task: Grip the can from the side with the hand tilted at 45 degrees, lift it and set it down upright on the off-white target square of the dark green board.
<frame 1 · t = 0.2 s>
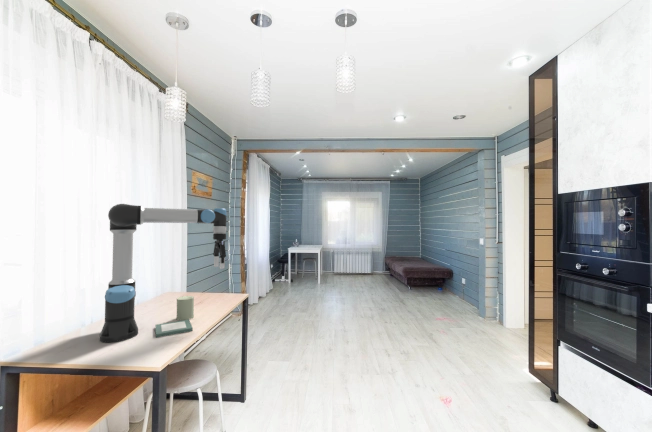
hand: (219, 267, 176), 28 cm above the table, tool pointing down, fingers open, 13 cm apart
board: (173, 329, 148), on the table
can: (185, 318, 167), on the table
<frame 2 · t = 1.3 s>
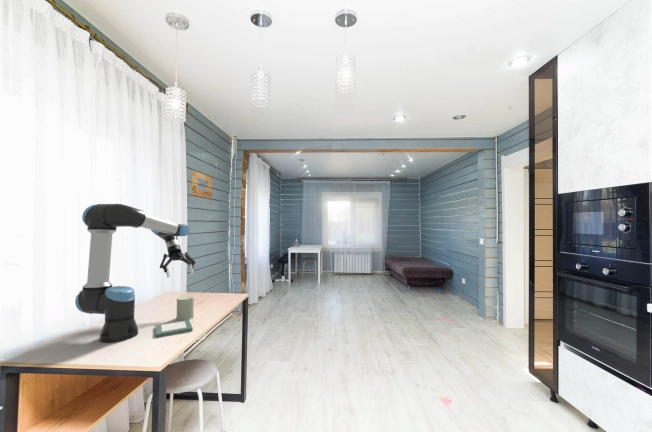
hand: (180, 274, 175), 24 cm above the table, tool tilted 45°, fingers open, 13 cm apart
nothing on the table moved.
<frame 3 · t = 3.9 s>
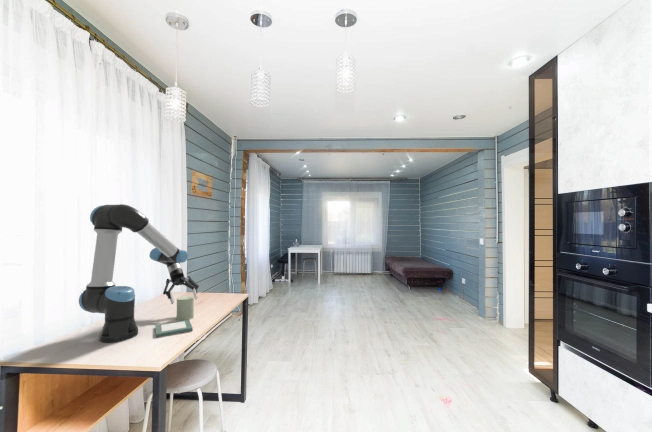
hand: (185, 300, 171), 9 cm above the table, tool tilted 45°, fingers open, 13 cm apart
nothing on the table moved.
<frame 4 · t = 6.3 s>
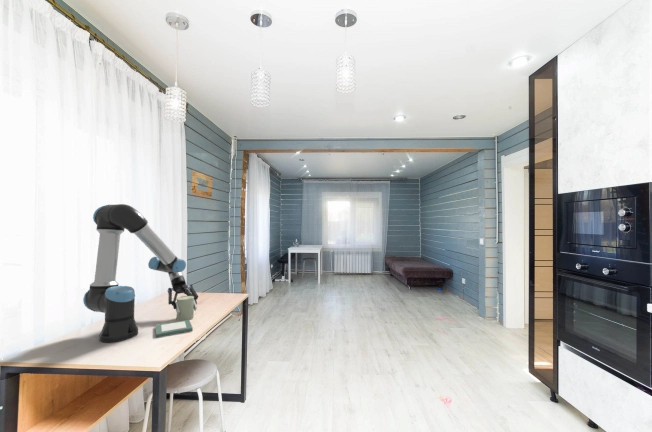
hand: (187, 311, 165), 4 cm above the table, tool tilted 45°, fingers closed on can, 9 cm apart
can: (185, 318, 167), on the table, touching gripper
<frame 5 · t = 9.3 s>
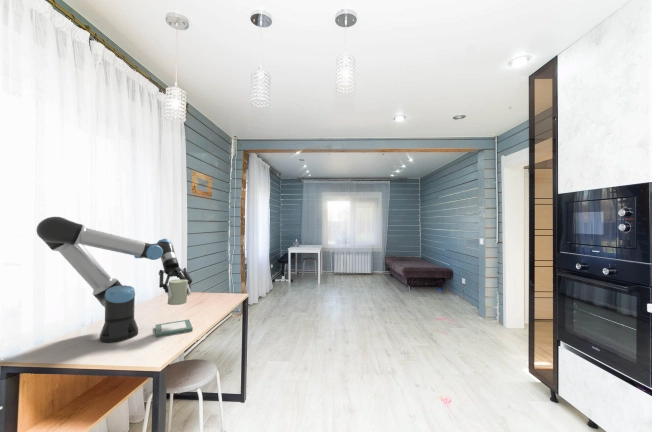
hand: (180, 295, 150), 17 cm above the table, tool tilted 45°, fingers closed on can, 9 cm apart
can: (177, 303, 152), point 12 cm above the table, touching gripper
when the fingers open (7 cm above the table, at t = 12.3 s): can drops 1 cm, resting on board.
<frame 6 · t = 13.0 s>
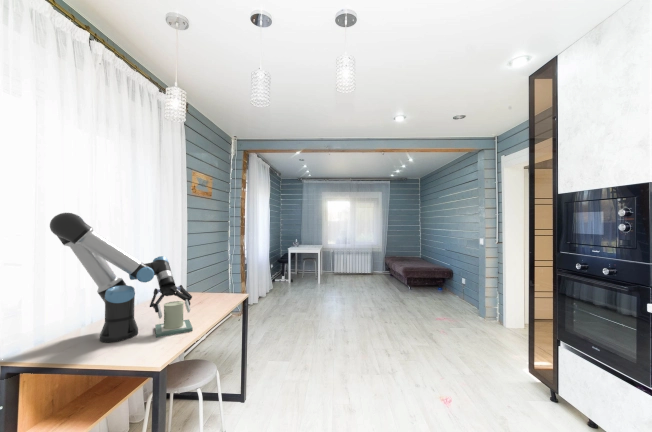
hand: (175, 314, 147), 8 cm above the table, tool tilted 45°, fingers open, 13 cm apart
can: (173, 326, 148), point 1 cm above the table, touching board
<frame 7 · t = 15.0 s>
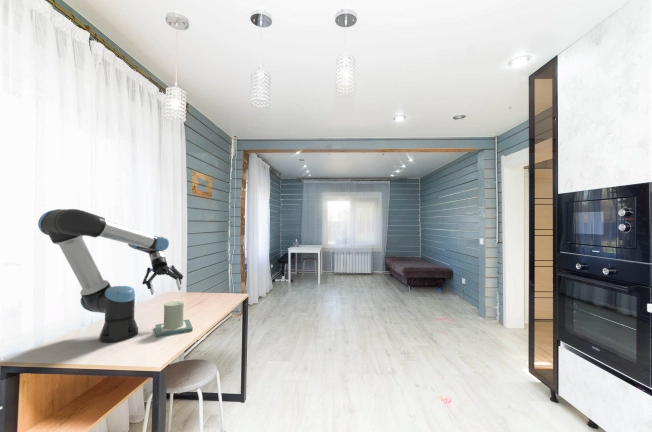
hand: (166, 291, 156), 18 cm above the table, tool tilted 45°, fingers open, 13 cm apart
nothing on the table moved.
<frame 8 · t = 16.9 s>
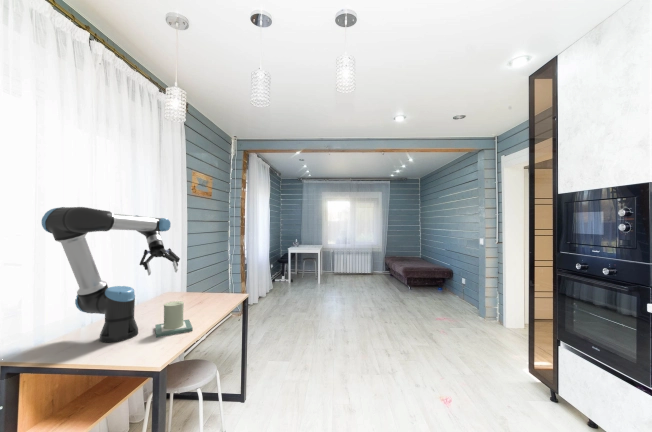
hand: (163, 272, 159), 28 cm above the table, tool tilted 45°, fingers open, 13 cm apart
nothing on the table moved.
at the end: can inside the target area on the board (0.2 cm from its centre), point 1.4 cm above the board's base; can tilted 0°; the gripper is holding nothing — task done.
